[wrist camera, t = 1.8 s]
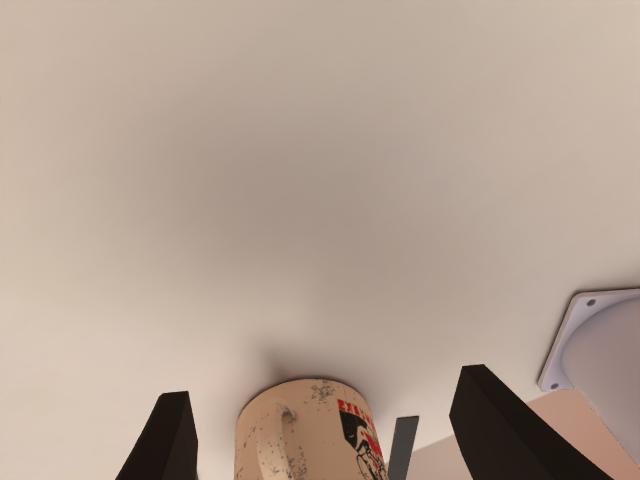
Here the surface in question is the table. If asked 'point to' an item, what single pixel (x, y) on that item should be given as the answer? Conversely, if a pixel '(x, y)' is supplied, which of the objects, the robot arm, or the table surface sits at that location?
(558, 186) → the table surface
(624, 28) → the table surface
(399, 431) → the tape marks
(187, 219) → the table surface
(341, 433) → the teacup with lid
